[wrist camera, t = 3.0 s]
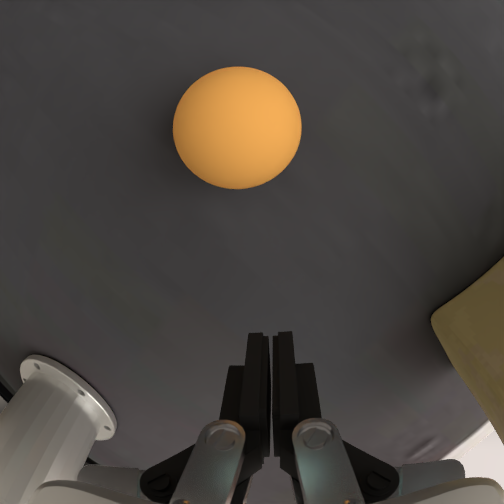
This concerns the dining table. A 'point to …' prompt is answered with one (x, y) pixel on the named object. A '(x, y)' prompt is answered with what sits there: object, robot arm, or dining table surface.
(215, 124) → the ball
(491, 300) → the cheese
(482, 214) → the dining table surface
